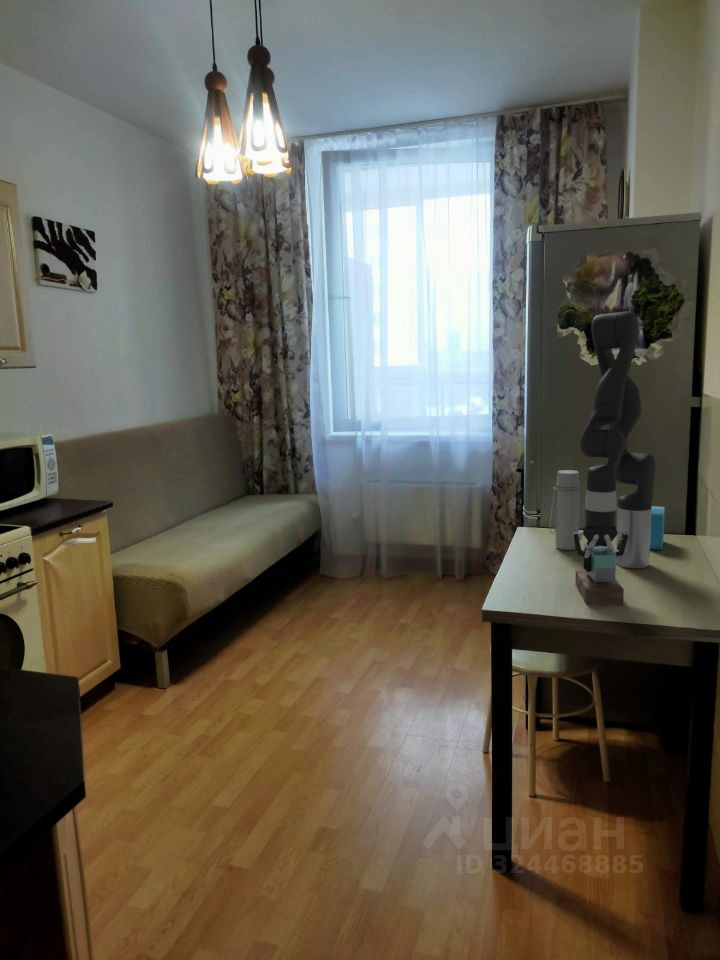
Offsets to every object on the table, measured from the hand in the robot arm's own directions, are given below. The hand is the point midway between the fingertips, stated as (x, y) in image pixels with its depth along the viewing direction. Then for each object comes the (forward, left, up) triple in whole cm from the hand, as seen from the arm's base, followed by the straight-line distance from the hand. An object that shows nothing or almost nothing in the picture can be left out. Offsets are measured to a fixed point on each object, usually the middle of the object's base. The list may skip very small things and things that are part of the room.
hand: (598, 570), depth 177 cm
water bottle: (-43, -2, -7) cm, 44 cm away
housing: (0, 0, -1) cm, 1 cm away
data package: (-46, +27, -7) cm, 54 cm away
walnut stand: (0, 0, -6) cm, 6 cm away
